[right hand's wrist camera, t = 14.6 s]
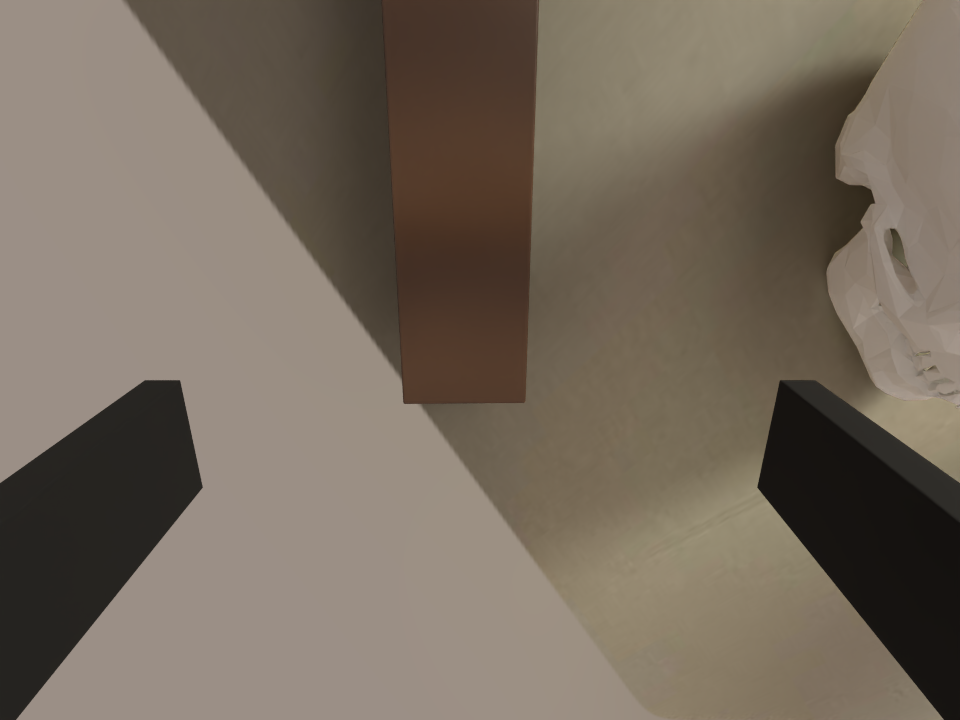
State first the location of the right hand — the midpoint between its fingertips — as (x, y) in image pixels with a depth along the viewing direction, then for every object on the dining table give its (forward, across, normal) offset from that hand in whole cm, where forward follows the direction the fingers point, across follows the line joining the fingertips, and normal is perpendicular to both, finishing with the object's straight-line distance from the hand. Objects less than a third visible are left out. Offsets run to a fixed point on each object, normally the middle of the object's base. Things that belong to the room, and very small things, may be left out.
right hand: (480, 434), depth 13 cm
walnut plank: (+18, -1, +9) cm, 20 cm away
